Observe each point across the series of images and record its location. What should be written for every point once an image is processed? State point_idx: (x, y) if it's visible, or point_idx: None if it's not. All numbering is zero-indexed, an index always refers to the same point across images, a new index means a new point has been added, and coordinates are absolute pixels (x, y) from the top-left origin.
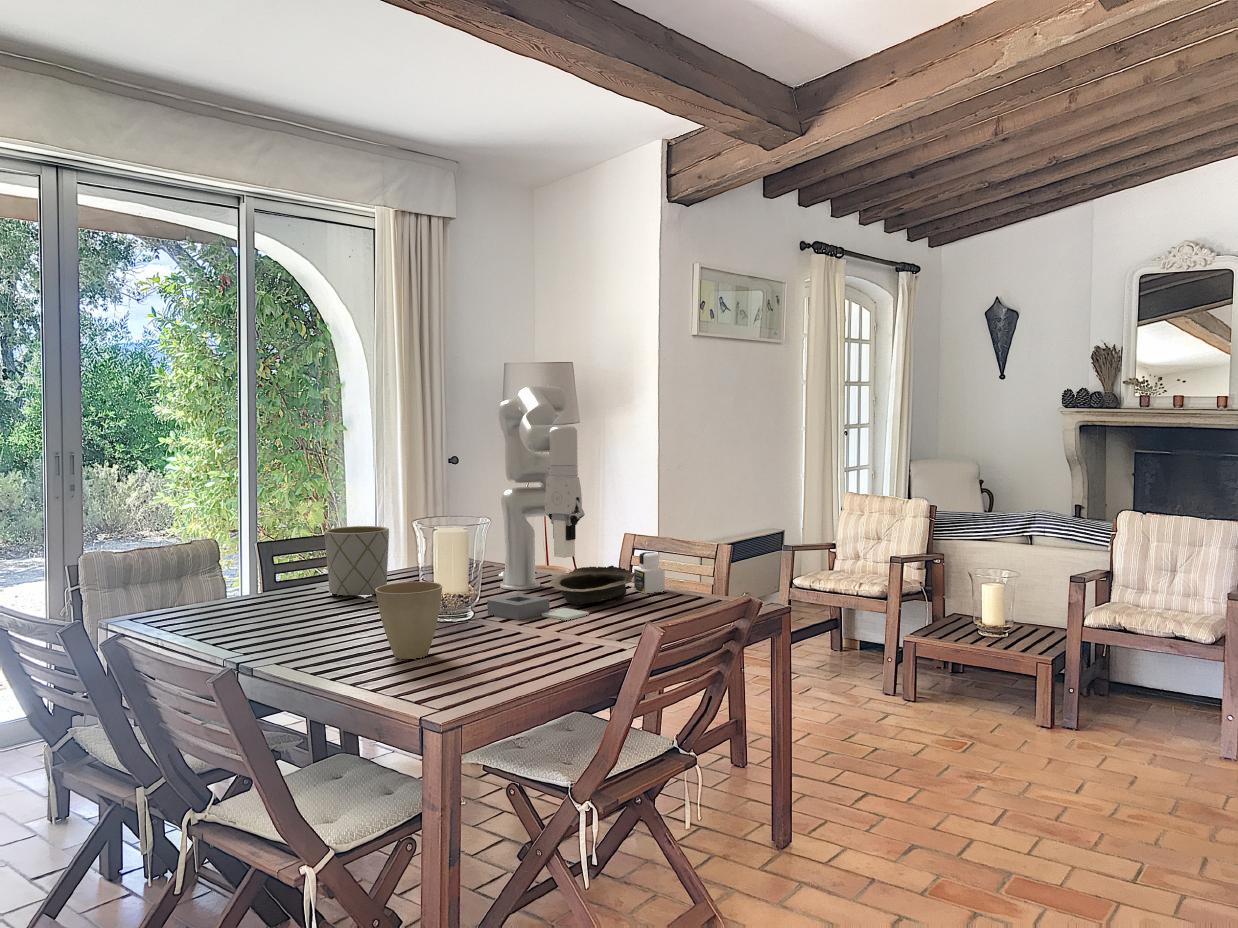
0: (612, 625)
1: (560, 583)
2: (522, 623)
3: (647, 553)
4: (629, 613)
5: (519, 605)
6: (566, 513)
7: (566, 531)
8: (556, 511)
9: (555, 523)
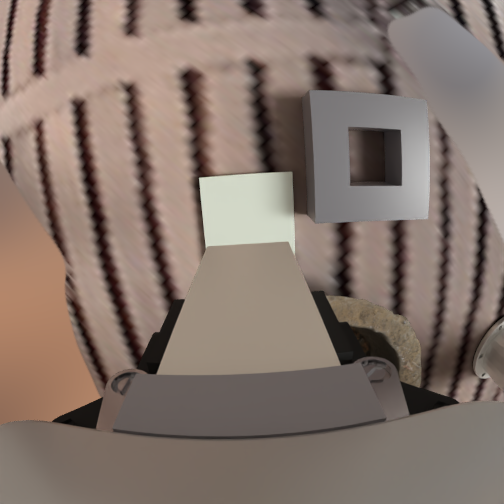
0: (87, 219)
1: (387, 342)
2: (262, 79)
3: None
4: (156, 331)
5: (309, 95)
6: (42, 422)
7: (172, 331)
8: (256, 459)
9: (305, 351)
